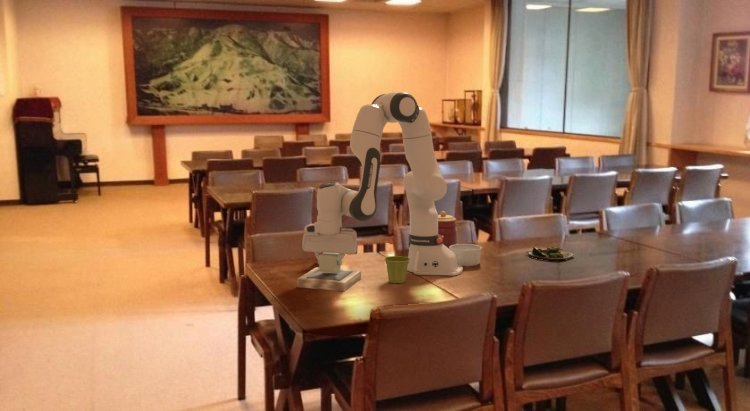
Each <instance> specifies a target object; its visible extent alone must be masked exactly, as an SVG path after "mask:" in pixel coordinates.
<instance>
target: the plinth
mask: <svg viewBox="0 0 750 411" xmlns="http://www.w3.org/2000/svg"><path fill="white" fill-rule="evenodd" d="M360 280H362V270H356V269H355V270H354V269H342V268H341V269H340V270H338V271H337V272H335V273H331V272H319V266H317V267H314V268H312V269H311V270H309V271H307V273H304V274H303V275H301V276H300V277H298V278H296V287H297V288H303V289H313V290H314V289H315V290H323V291H324V290H326V291H334V292H335V291H336V292H337V291H339V292H346V291H347V290H348V289H349V288H351V287H352V286H354V285H355V284H356V283H357V282H359V281H360Z"/></svg>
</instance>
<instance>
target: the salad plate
mask: <svg viewBox="0 0 750 411" xmlns="http://www.w3.org/2000/svg"><path fill="white" fill-rule="evenodd" d="M524 253H526V254H527V255H528V256H529V257H530V256H531V257H533V258H532V259H534V258H537V259H536V260H539V259H543V260H542V261H544V260H548V261H547V262H552V261H559V262H563V261H562V260H564V261H567V260H569V259H571V258H572V257H574V254H573V253H572V252H566V251H564V249H563V248H560V247H558V246H555V247H554V246H549V247H546V249H545V248H537V247H536V246H533V248H532V250H528V251H525V252H524ZM563 254H565V255H567V256H568V257H567V258H566V257H565V256H564V255H563ZM531 257H530V258H531ZM566 259H567V260H566Z"/></svg>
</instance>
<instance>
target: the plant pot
mask: <svg viewBox="0 0 750 411" xmlns="http://www.w3.org/2000/svg"><path fill="white" fill-rule="evenodd" d="M384 261H385V264H386V271H387V279H388V282H389V283H390V284H397V283H398V284H403V283H405V282H406V279H407V272H408V270H407V266H408V264H409V261H410V258H408V256H404V255H403V256H400V255H392V256H390V255H389V256H385V257H384Z"/></svg>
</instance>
